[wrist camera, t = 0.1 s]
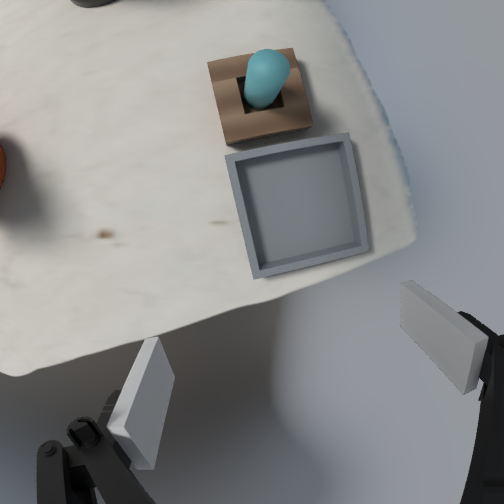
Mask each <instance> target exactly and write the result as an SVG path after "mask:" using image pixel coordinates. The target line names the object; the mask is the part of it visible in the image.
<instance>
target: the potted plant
mask: <svg viewBox="0 0 504 504" xmlns="http://www.w3.org/2000/svg"><path fill="white" fill-rule="evenodd" d="M5 172H6V159H5V154H4V151H3V149H2V147H1V145H0V188H1V186H2V183H3V181H4V177H5Z"/></svg>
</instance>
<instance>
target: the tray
mask: <svg viewBox="0 0 504 504" xmlns="http://www.w3.org/2000/svg"><path fill="white" fill-rule="evenodd" d="M225 160H226V164H227V168H228V172H229V177H230V181H231V185H232V190H233V194H234V198H235V202H236V207H237V211H238V215H239V219H240V224H241V228H242V232H243V236H244V241H245V245H246V249H247V253H248V258H249V262H250V266H251V270H252V275H253V279H258V278H263V277H267V276H271V275H275V274H280V273H284V272H288V271H292V270H296V269H300V268H304V267H309V266H313V265H317V264H321V263H325V262H329V261H333V260H337V259H341V258H345V257H349V256H353V255H356V254H360V253H364V252H368V251H369V248H368V240H367V232H366V225H365V218H364V211H363V204H362V198H361V192H360V186H359V181H358V175H357V170H356V164H355V159H354V154H353V149H352V145H351V140H350V135H349V132H348V133H341V134H334V135H328V136H321V137H315V138H309V139H303V140H298V141H292V142H287V143H281V144H276V145H271V146H266V147H261V148H256V149H252V150H247V151H242V152H238V153H233V154H229V155H225Z"/></svg>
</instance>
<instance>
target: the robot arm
mask: <svg viewBox="0 0 504 504" xmlns="http://www.w3.org/2000/svg"><path fill="white" fill-rule="evenodd" d="M71 1H72V2H73V3H74V4H75V5H78V6H81V7H95V6H100V5H104V4H107V3H109V2H112V1H114V0H71ZM401 328H402V329H403V330H404V331H405V332H406V333H407V334H408V335H409V336H410V337H411V338H412V339H413V340H414V341H415V342H416V343H417V344H418V346H420V348H421V349H422V350H423V351H424V352H425V353H426V354H427V355H428V356H429V357H430V358H431V359H432V361H433V362H434V363H435V364H436V365H437V366H438V367H439V368H440V369H441V371H442V372H443V373H444V374H445V375H446V376H447V377H448V378H449V379H450V380H451V382H452V383H453V384H454V385H455V386H456V387H457V388H458V389H459V390H460V392H461V393H462V394H463V395H464V394H466V393H469V392H470V391H472V390H474V389H476V387H477V384H478V380H479V378H480V379H481V380H482V381H483V382H484V384H483V387H482V390H481V393H480V397H479V401H480V400H481V405H480V413H479V420H478V427H477V433H476V439H475V445H474V450H473V455H472V460H471V464H470V468H469V473H468V477H467V481H466V484H465V488H464V492H463V495H462V499H461V502H460V504H504V335H500V336H498V335H497V334H496V333H494V332H493V331H492V330H490V329H489V328H488V327H486V326H485V325H484V324H481V322H480V321H478V320H476V318H474V317H473V316H472V315H470V314H468V313H465V312H462V311H460V312H458V313H457V312H456V311H454V310H453V309H451V308H450V307H449V306H448V305H446V304H445V303H444V302H442V301H441V300H439V299H438V298H437V297H435V296H434V295H432V294H431V293H429V292H428V291H427V290H425V289H424V288H423V287H421V286H420V285H418V284H417V283H416V282H414V281H413V280H410V281H408V282H404V283H401ZM174 378H175V377H174V374H173V372H172V370H171V367H170V365H169V362H168V360H167V357H166V355H165V352H164V350H163V347H162V345H161V342H160V340H159V337H154V338H147V339H145V341H144V343H143V345H142V347H141V349H140V351H139V354H138V356H137V358H136V360H135V362H134V364H133V367H132V369H131V371H130V373H129V375H128V378H127V380H126V382H125V384H124V387H123V389H122V390H115V391H114V392H113V393H112V394H111V395H110V397H108V399H107V402H106V404H105V406H104V408H103V410H102V413H101V414H100V417H99V419H98V421H97V423H95V421H94V420H93V419H92V418H90V417H80V418H77V419H75V420H74V421H73V422H71V423H70V425H69V426H68V428H67V435H68V437H69V438H70V439H71V441H72V442H73V443H74V445H73V446H68V447H63V446H62V445H61V443H60V442H59V441H56V440H50V441H47V442H45V443H43V444H42V445H41V446H40V447H39V449H38V452H37V504H97V499H96V495H95V489H94V487H97V489H98V490H99V492H100V494H101V496H102V498H103V499H104V501H105V503H106V504H156V503H155V502H154V500H153V499H152V498H151V497H150V496H149V494H148V493H147V492H146V491H145V489H144V488H143V487H142V485H141V484H140V483H139V481H138V480H137V479H136V477H135V476H134V474H133V473H132V472H131V471H130V469H129V467H130V464H131V462H132V463H133V465H134V466H135V467H136V469H137V470H153V469H154V465H155V460H156V456H157V451H158V447H159V442H160V437H161V433H162V429H163V424H164V420H165V416H166V411H167V407H168V403H169V399H170V395H171V391H172V387H173V383H174Z"/></svg>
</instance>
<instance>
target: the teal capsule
mask: <svg viewBox="0 0 504 504" xmlns="http://www.w3.org/2000/svg"><path fill="white" fill-rule="evenodd" d="M289 74H290V64H289V61H288V59H287V58H286V57H285V56H284V55H283V54H282V53H280V52H278V51H276V50H271V49H264V50H260V51H258V52H256V53H255V54H253V55H252V56H251V58H250V59H249V62H248V67H247V74H246V80H245V87H244V94H243V99H244V102H245V104H246V105H247V106H248V107H249V108H251V109H253V110H256V111H262V110H266V109H268V108H269V107H270V106H271V105H272V103H273V102H274V100H275V98H276V96H277V95H278V93H279V91H280V90H281V88H282V86H283V85H284V83H285V81H286V80H287V78H288V76H289Z"/></svg>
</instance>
